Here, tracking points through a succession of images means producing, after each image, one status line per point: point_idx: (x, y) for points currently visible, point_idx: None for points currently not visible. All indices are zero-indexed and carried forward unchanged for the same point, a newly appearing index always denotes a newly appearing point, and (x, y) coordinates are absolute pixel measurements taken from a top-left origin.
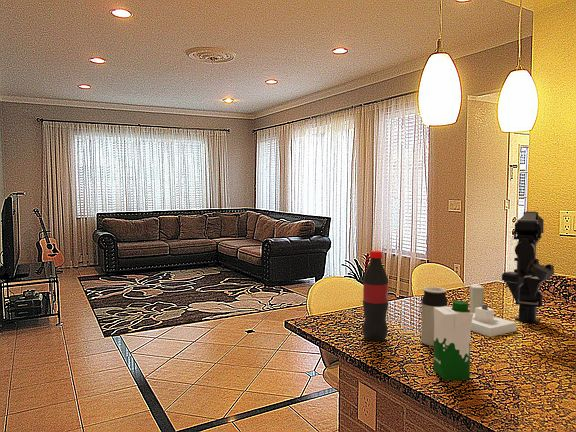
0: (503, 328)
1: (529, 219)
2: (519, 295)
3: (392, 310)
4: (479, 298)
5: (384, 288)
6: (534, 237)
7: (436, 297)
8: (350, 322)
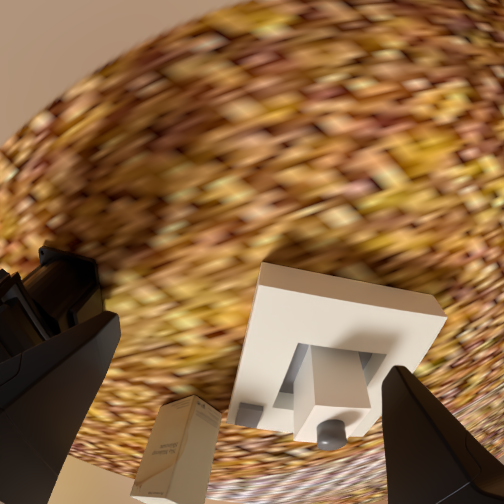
0: (363, 295)
1: None
2: (422, 406)
3: (320, 491)
4: (190, 465)
5: None
6: None
7: None
8: None
